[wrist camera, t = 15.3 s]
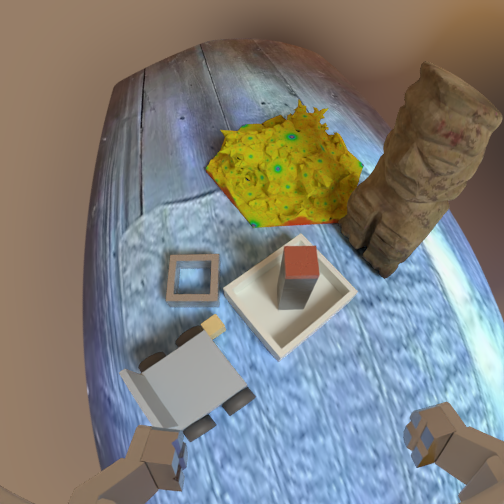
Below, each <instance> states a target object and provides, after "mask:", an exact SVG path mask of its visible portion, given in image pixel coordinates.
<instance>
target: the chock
mask: <svg viewBox="0 0 504 504" xmlns="http://www.w3.org/2000/svg"><path fill="white" fill-rule="evenodd" d="M201 326H202V328H203V329H204V330H205V331H206V332H207V334H208V335H209V336H210V338H211V339H212V340H213V339H215V338H216V337H217V336H219V335H220V334H222V333H223V332H224V331H226V328H225V325H224V324H223V323H222V321H221V320H220V319H219V318H218V316H217V315H216V314H214V315H213V316H211V317H210V318H209V319H207V320H206V321H204V322H203V323H201Z"/></svg>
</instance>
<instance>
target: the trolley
mask: <svg viewBox="0 0 504 504" xmlns="http://www.w3.org/2000/svg"><path fill="white" fill-rule="evenodd" d="M176 345H177V346H178V349H176V350H175V351H173V352H172V353H170V354H169V355H168V356H166V355H165V354H164V352H159V353H155V354H153V355H151V356H149V357H148V358H146V359H145V360H144V361H142V362H141V363H140V365H139V367H138V368H139V369H140V371H141V374H138V373H135V372H133V371H130V370H127V369H124V370H122V371H121V372H119V374H120V375H121V377H122V379H123V380H124V382H125V384H126V385H127V387H128V389H129V390H130V392H131V394H132V395H133V397H134V398H135V400H136V402H137V403H138V405H139V406H140V408H141V409H142V411H143V412H144V414H145V415H146V417H147V418H148V420H149V421H150V423H151V424H152V426H153V427H160V428H168V429H177V430H184V429H185V428H186V429H185V430H184V431H183V434H184V435H185V436H186V437H187V439H188V440H189V441H190V442H192V441H193V440H195V439H197V438H198V437H200V436H201V435H203V434H205V433H206V432H208V431H209V430H211V429H212V428H213V427H215V426H216V423H215V422H214V421H213V420H212V418H211V417H210V416H209V415H207V414H208V413H210V412H211V411H213V410H214V409H215V408H217V407H218V406H220V405H221V404H223V403H224V402H225V403H224V404H223V405H222V407H223V408H224V409H225V411H226V412H227V413H228V414H229V416H231V415H232V414H234V413H235V412H237V411H238V410H240V409H241V408H242V407H244V406H245V405H246V404H248V403H249V402H251V401H252V400H253V399H254V398H256V396H255V395H254V394H253V393H252V391H251V390H250V389H249V388H248V387H247V388H245V387H246V386H247V384H246V382H245V381H244V380H243V379H242V378H241V376H240V375H239V374H238V373H237V371H236V370H235V369H234V368H233V366H232V365H231V364H230V362H229V361H228V360H227V359H226V357H225V356H224V355H223V353H222V352H221V351H220V350H219V348H218V347H217V346H216V344H215V343H214V342H213V340H212V339H211V338H210V336H209V335H208V334H207V332H206V331H205V330H203V329H202V327H201V326H195V327H193V328H191V329H189V330H187V331H186V332H184V333H183V334H182V335H181V336H179V338H178V339H177V340H176ZM244 388H245V389H244ZM242 389H243V390H242ZM241 390H242V391H241ZM238 392H239V393H238ZM235 394H236V395H235ZM234 395H235V396H234ZM231 397H232V398H231ZM230 398H231V399H230ZM228 399H229V400H228ZM227 400H228V401H227ZM226 401H227V402H226ZM205 415H207V416H205ZM204 416H205V417H204ZM202 417H204V418H202ZM201 418H202V419H201ZM199 419H200V420H199ZM198 420H199V421H198ZM196 421H197V422H196ZM193 423H194V424H193ZM190 425H191V426H190ZM187 427H188V428H187Z"/></svg>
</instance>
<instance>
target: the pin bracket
mask: <svg viewBox="0 0 504 504" xmlns="http://www.w3.org/2000/svg"><path fill="white" fill-rule="evenodd" d="M205 268H211V285H210V294H178V288H179V276H180V269H205ZM166 302H167V303H168V305H169V306H170V307H219V306H220V257H219V254H192V255H170V263H169V273H168V283H167V293H166Z"/></svg>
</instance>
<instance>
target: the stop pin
mask: <svg viewBox="0 0 504 504" xmlns="http://www.w3.org/2000/svg"><path fill="white" fill-rule="evenodd" d="M319 276H320V274H319V265H318V257H317V249H316V246H284V250H283V255H282V261H281V266H280V272H279V277H278V283H277V301H278V310H300V309H304V308H305V305H306V303H307V301H308V299H309V297H310V295H311V293H312V291H313V289H314V286H315V284H316V282H317V280H318V278H319Z"/></svg>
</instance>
